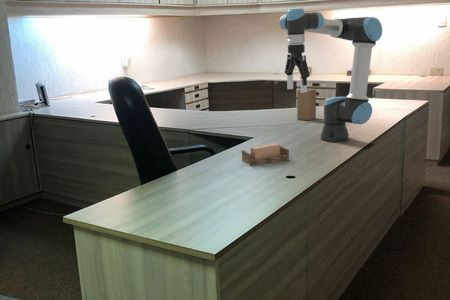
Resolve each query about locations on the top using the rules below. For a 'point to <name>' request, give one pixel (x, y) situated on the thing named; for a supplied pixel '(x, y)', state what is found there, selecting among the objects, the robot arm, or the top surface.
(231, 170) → the top surface
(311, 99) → the wooden block
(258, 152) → the pink rectangular block
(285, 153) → the rack
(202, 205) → the top surface
